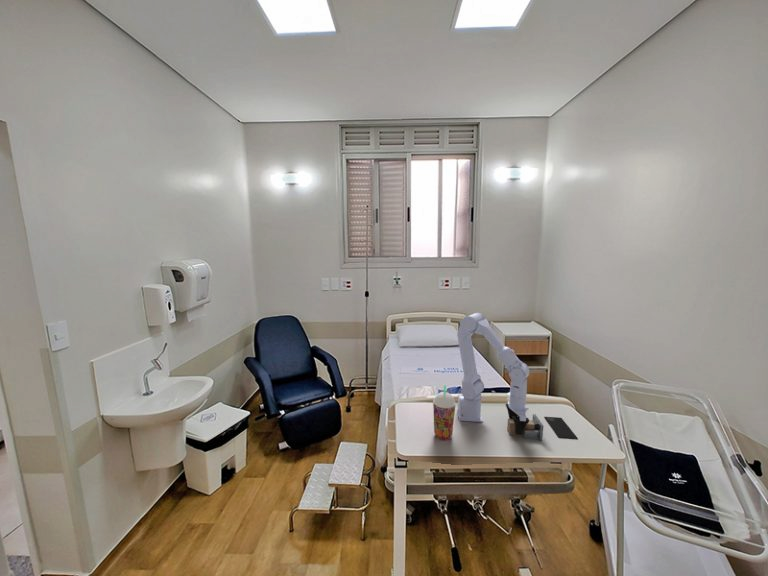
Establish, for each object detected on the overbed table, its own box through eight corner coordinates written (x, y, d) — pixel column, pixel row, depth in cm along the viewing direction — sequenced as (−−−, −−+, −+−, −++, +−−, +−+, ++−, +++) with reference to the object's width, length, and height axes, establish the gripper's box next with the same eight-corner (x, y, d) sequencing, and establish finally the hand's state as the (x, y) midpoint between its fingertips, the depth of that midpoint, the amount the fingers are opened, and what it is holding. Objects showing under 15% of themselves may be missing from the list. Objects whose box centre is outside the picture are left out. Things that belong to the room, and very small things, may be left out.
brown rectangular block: (509, 435, 121) (510, 423, 120) (507, 430, 124) (507, 418, 123) (533, 436, 120) (534, 424, 119) (530, 432, 123) (531, 420, 122)
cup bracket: (525, 439, 118) (526, 424, 117) (518, 427, 126) (519, 413, 125) (542, 440, 117) (543, 425, 117) (534, 428, 125) (535, 414, 124)
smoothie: (428, 436, 119) (429, 386, 117) (438, 426, 126) (440, 379, 123) (448, 445, 114) (450, 393, 112) (458, 434, 121) (460, 385, 118)
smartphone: (579, 440, 118) (561, 418, 133) (579, 438, 118) (561, 416, 133) (558, 439, 119) (542, 417, 134) (558, 437, 119) (542, 415, 134)
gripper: (535, 405, 113) (533, 440, 114) (522, 387, 127) (520, 418, 129) (515, 404, 113) (513, 439, 115) (504, 386, 128) (502, 417, 129)
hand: (515, 428), depth 122 cm, fingers open, 7 cm apart
